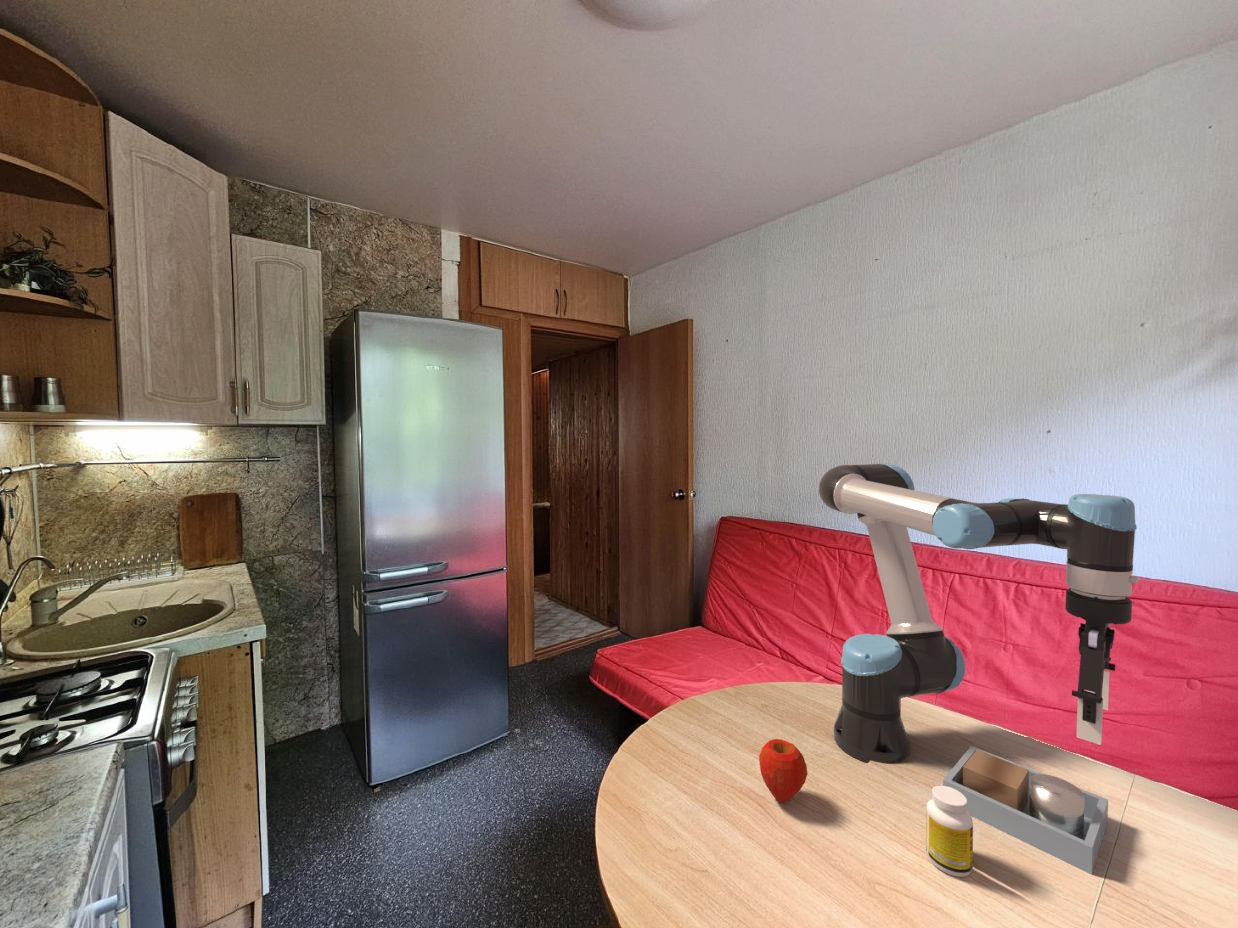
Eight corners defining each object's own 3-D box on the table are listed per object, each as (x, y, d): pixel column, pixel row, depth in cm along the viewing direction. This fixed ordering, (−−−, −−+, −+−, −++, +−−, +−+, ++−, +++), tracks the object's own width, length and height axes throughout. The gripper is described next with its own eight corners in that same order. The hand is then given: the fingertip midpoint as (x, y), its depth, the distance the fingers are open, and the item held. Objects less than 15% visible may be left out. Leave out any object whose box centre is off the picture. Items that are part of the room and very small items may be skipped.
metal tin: (1024, 825, 85) (1025, 785, 85) (1034, 805, 89) (1035, 768, 89) (1079, 850, 79) (1080, 808, 79) (1087, 828, 84) (1088, 789, 83)
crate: (942, 806, 91) (943, 779, 90) (971, 769, 101) (971, 745, 100) (1091, 879, 75) (1092, 847, 75) (1107, 827, 85) (1108, 799, 85)
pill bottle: (980, 882, 75) (981, 811, 74) (935, 875, 76) (936, 806, 76) (961, 849, 81) (961, 784, 81) (919, 843, 82) (920, 779, 82)
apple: (813, 797, 93) (813, 742, 93) (795, 823, 87) (795, 764, 87) (771, 777, 99) (771, 725, 99) (751, 800, 93) (750, 744, 92)
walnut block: (962, 797, 91) (963, 766, 91) (976, 779, 96) (976, 749, 96) (1016, 822, 85) (1017, 789, 85) (1028, 801, 90) (1028, 769, 90)
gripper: (1128, 618, 66) (1122, 769, 68) (1135, 581, 83) (1130, 702, 84) (1055, 605, 72) (1050, 744, 73) (1075, 572, 89) (1071, 686, 90)
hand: (1093, 722), depth 79 cm, fingers open, 13 cm apart
